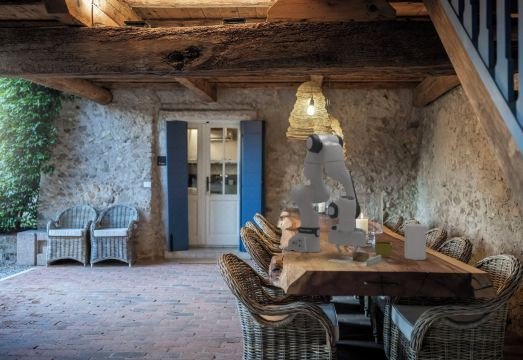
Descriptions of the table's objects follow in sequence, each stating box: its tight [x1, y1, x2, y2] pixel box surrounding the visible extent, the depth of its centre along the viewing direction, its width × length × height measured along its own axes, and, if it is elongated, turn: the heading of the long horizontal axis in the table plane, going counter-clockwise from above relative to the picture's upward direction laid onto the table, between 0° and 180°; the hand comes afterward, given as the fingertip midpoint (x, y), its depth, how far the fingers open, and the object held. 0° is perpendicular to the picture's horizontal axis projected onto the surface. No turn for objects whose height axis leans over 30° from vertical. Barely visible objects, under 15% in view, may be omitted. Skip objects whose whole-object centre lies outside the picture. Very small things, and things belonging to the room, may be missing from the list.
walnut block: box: [352, 251, 370, 263], centre depth 237 cm, size 6×6×4 cm
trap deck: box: [327, 255, 382, 267], centre depth 236 cm, size 22×18×4 cm
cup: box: [403, 223, 427, 261], centre depth 254 cm, size 11×11×18 cm
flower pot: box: [374, 240, 393, 259], centre depth 250 cm, size 9×9×9 cm
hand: (346, 253), depth 241 cm, fingers open, 7 cm apart
